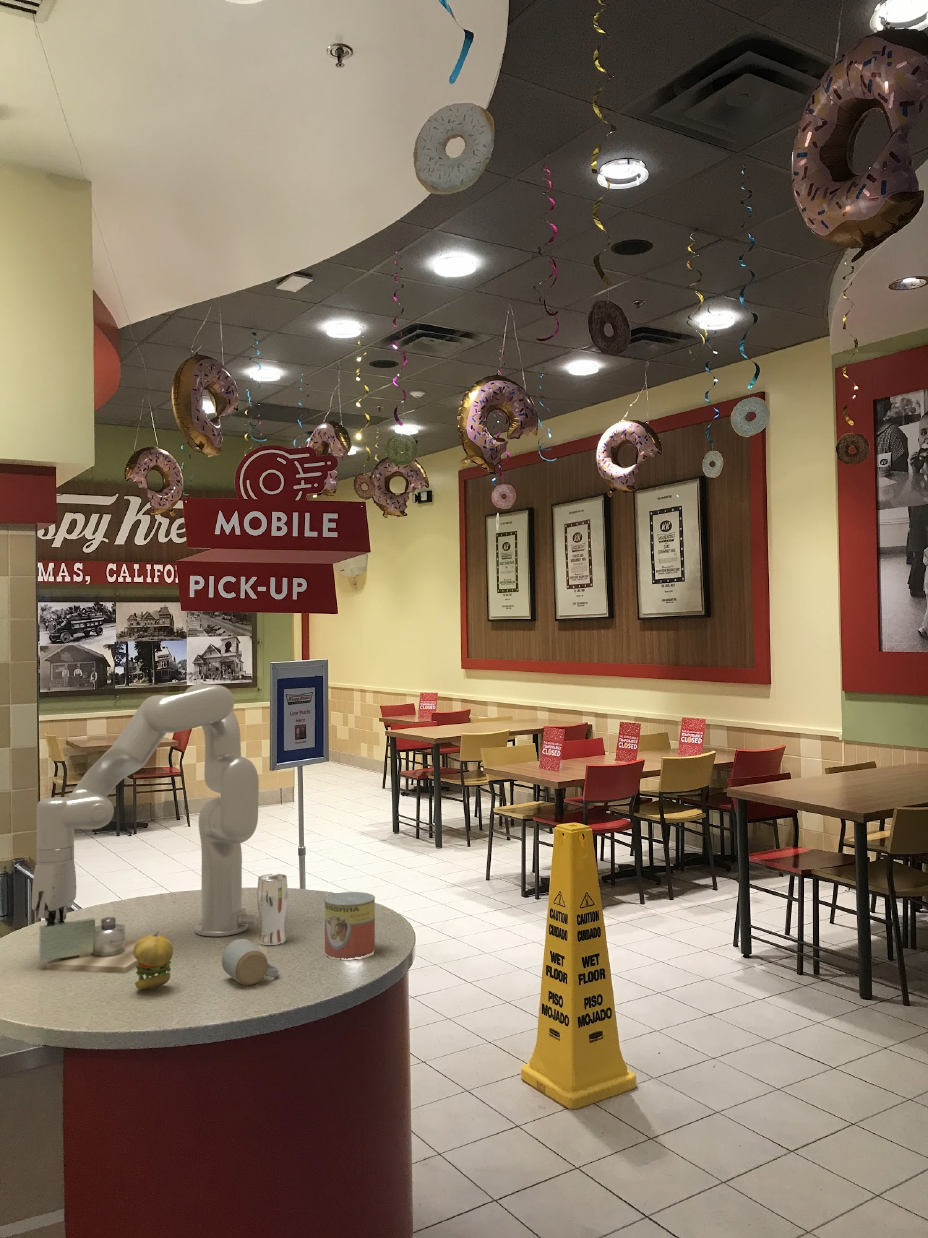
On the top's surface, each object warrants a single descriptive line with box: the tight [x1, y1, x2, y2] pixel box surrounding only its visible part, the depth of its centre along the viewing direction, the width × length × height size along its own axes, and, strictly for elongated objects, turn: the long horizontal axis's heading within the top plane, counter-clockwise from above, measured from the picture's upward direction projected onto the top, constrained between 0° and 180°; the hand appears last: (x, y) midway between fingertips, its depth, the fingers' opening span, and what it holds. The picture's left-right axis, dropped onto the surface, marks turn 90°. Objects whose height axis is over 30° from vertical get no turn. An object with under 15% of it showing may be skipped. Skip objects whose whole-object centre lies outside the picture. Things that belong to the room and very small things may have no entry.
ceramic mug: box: [221, 938, 280, 986], centre depth 194 cm, size 11×8×8 cm
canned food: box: [323, 891, 376, 959], centre depth 212 cm, size 11×11×12 cm
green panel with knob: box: [38, 916, 126, 962], centre depth 207 cm, size 18×7×8 cm, turn 123°
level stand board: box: [46, 939, 139, 974], centre depth 209 cm, size 18×18×2 cm
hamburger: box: [133, 931, 174, 991], centre depth 189 cm, size 8×7×12 cm
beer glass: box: [256, 873, 289, 946], centre depth 220 cm, size 7×7×15 cm
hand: (55, 939), depth 207 cm, fingers closed
